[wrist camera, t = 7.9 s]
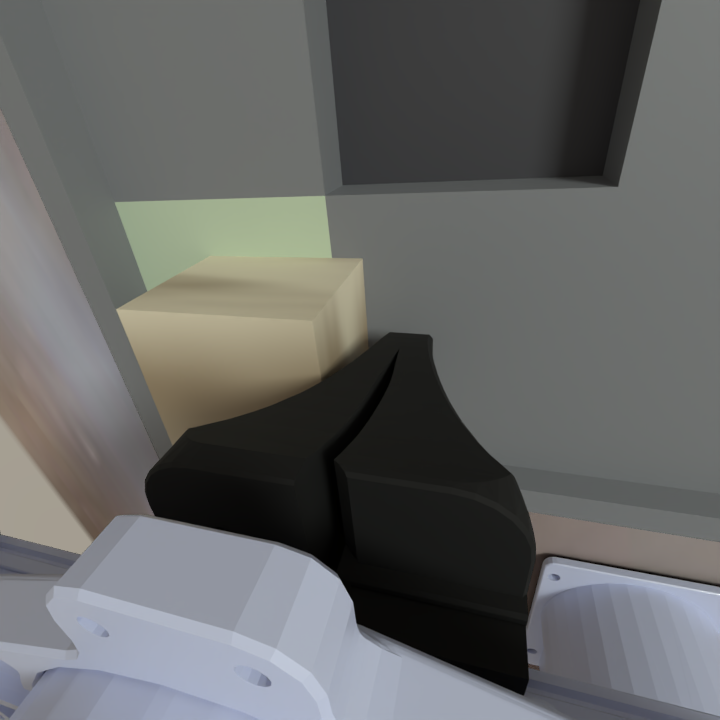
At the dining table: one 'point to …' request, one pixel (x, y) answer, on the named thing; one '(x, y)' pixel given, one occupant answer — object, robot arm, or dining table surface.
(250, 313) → the birch block
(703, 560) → the dining table surface
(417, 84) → the board
